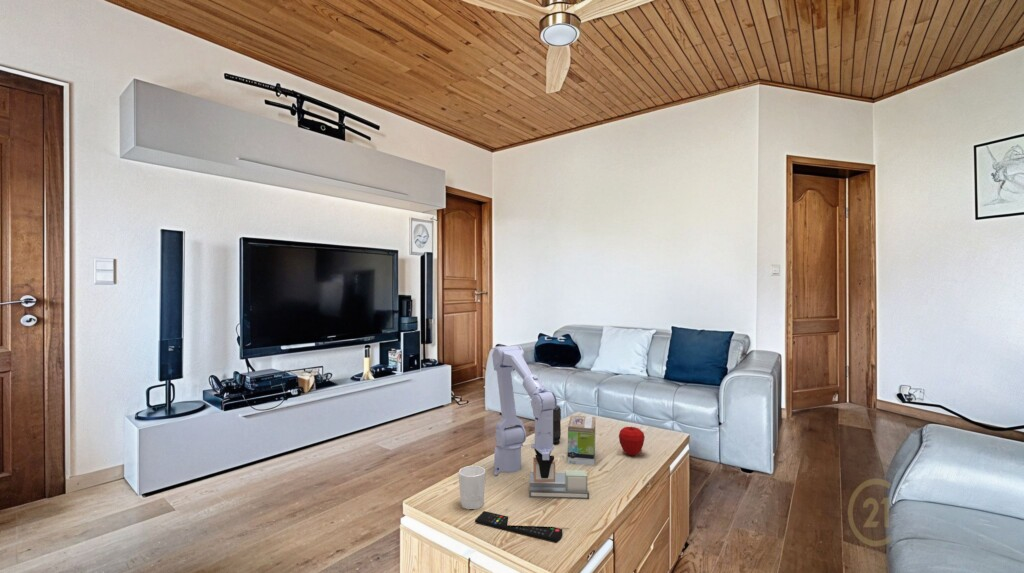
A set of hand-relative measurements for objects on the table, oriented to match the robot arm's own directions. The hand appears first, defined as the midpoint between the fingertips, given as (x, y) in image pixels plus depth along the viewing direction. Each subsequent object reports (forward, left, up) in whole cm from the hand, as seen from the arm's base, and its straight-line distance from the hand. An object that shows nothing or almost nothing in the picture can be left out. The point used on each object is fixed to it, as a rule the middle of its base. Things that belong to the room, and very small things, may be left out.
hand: (544, 474), depth 136 cm
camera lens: (+3, +47, -7) cm, 48 cm away
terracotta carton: (0, 0, -2) cm, 2 cm away
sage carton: (+10, 0, -5) cm, 11 cm away
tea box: (+14, +29, -7) cm, 33 cm away
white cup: (-22, -7, -7) cm, 24 cm away
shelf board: (+4, +5, -6) cm, 9 cm away
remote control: (-7, -19, -7) cm, 21 cm away
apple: (+34, +36, -7) cm, 50 cm away
